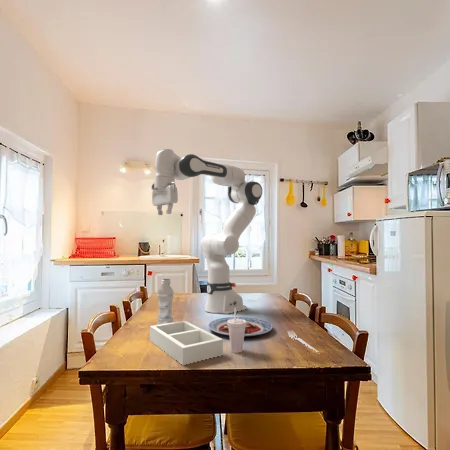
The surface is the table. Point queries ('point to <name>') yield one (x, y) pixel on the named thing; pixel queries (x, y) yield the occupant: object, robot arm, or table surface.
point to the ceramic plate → (251, 328)
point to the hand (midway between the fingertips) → (164, 214)
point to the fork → (300, 340)
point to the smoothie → (236, 333)
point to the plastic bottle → (165, 302)
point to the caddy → (186, 342)
